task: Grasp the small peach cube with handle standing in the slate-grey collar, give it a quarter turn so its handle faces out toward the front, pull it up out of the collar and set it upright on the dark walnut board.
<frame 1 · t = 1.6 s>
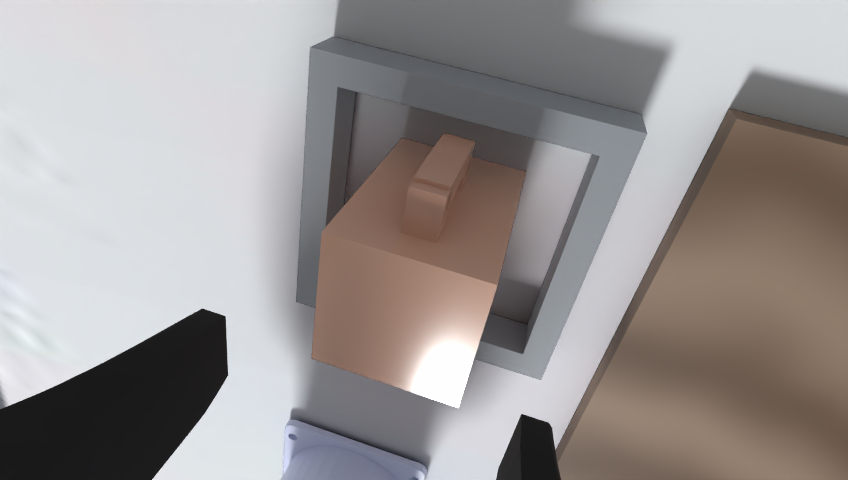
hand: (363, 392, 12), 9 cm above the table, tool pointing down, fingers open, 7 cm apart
peach cube with handle: (431, 238, 17), in the collar
board: (762, 393, 21), on the table
collar: (450, 210, 20), on the table
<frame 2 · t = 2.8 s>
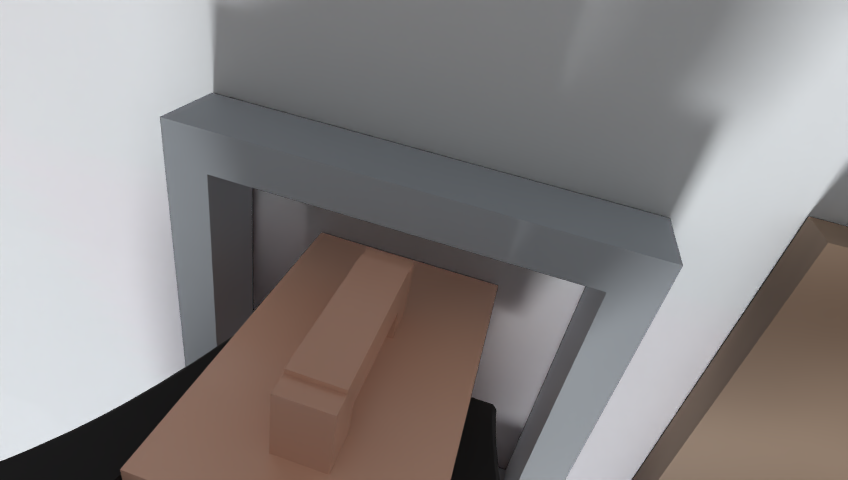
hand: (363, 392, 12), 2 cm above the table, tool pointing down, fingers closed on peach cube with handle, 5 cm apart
peach cube with handle: (349, 406, 11), in the collar, touching gripper
collar: (394, 327, 14), on the table
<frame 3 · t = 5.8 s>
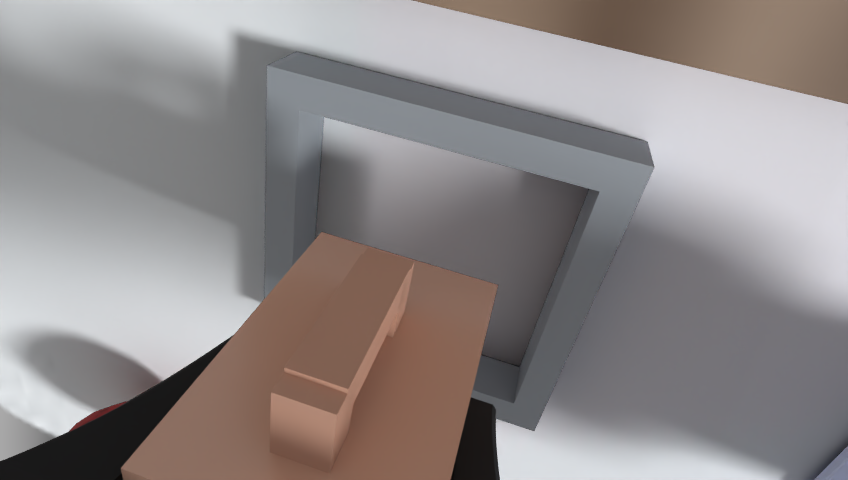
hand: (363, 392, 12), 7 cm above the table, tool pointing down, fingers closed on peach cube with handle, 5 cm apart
peach cube with handle: (349, 405, 11), point 8 cm above the table, touching gripper
collar: (432, 243, 18), on the table
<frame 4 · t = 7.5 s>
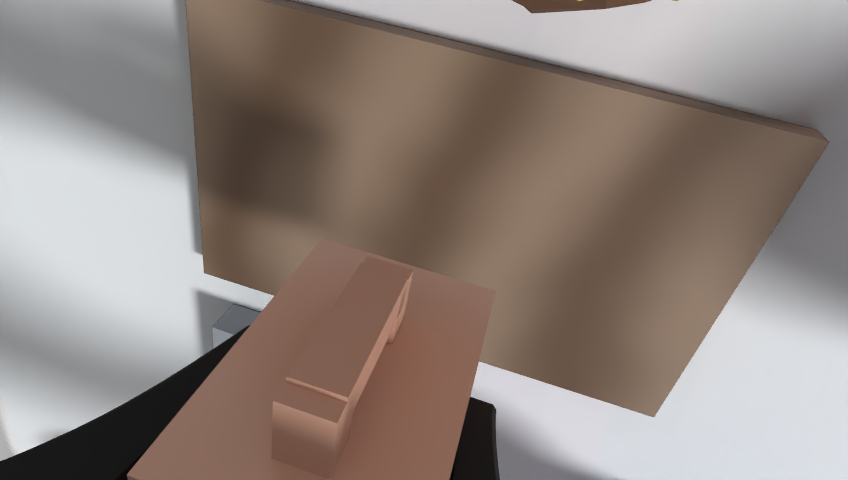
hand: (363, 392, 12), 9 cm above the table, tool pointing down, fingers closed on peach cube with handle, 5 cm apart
peach cube with handle: (349, 410, 11), point 10 cm above the table, touching gripper
board: (449, 210, 20), on the table
collar: (325, 407, 28), on the table
when the fingers open (5 cm above the table, at t = 9.0 s): peach cube with handle drops 1 cm, resting on board.
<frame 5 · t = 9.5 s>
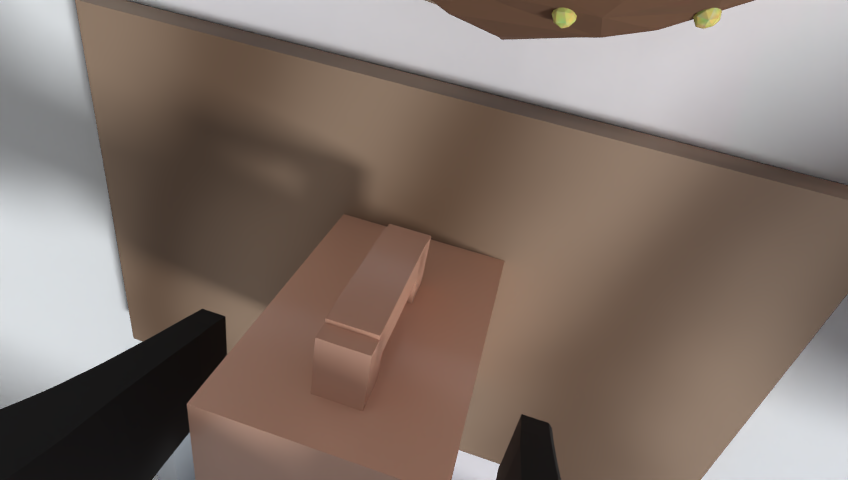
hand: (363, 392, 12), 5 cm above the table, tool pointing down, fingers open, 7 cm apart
peach cube with handle: (373, 365, 12), on the board, point 4 cm above the table
board: (418, 275, 17), on the table
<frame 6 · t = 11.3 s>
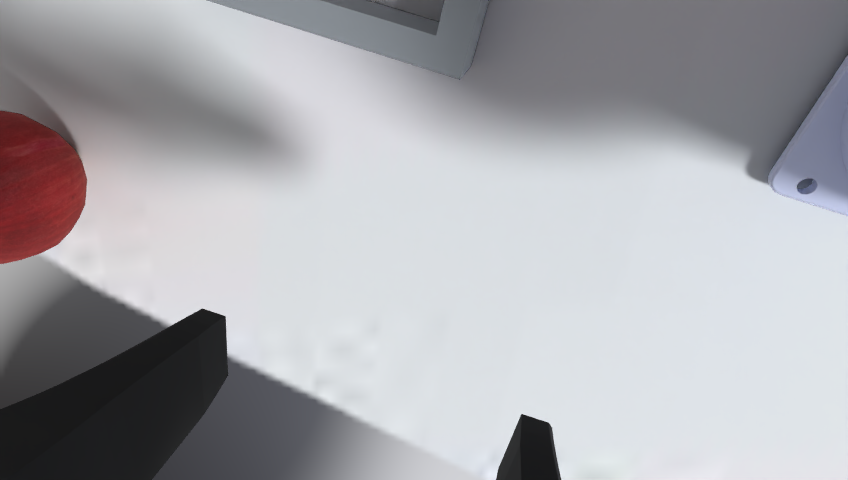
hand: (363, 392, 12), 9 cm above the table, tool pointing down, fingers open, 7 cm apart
onion: (75, 151, 24), on the table
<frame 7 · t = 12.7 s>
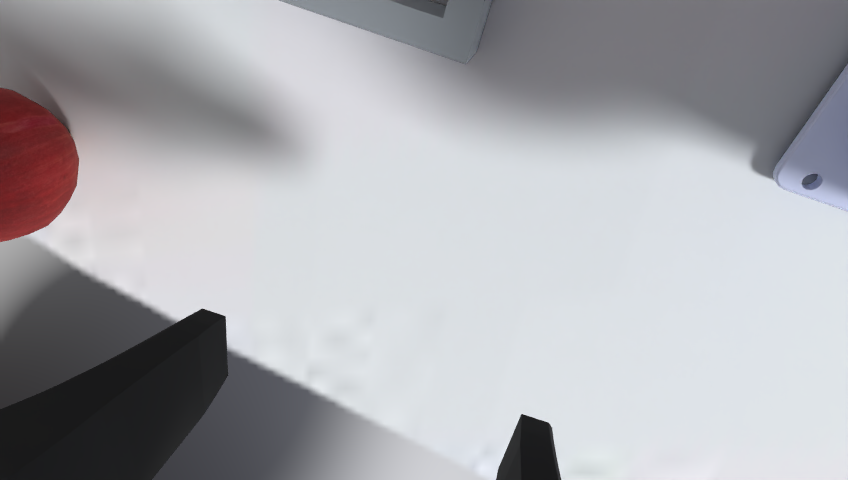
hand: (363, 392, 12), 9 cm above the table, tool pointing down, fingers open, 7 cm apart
onion: (67, 131, 23), on the table
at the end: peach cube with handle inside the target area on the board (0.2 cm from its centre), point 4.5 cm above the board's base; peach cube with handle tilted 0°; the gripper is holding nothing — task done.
